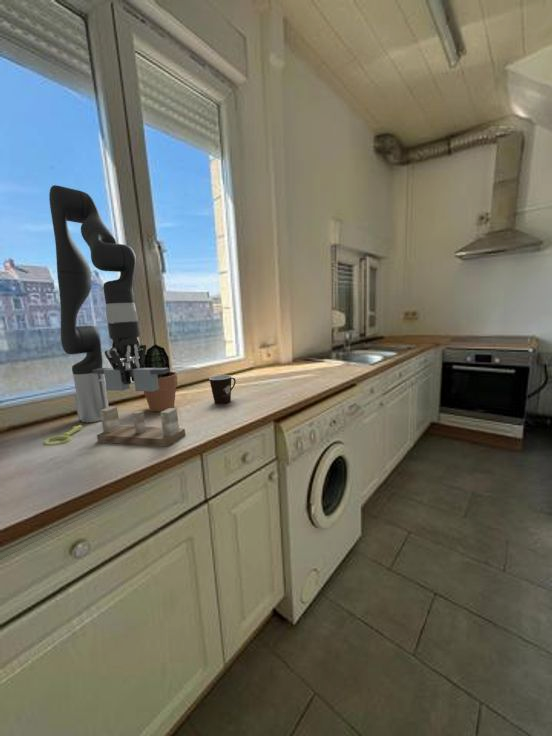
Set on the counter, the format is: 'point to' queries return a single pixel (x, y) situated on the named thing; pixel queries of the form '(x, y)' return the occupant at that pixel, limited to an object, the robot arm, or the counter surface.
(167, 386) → the potted plant
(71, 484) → the counter surface
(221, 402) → the coffee mug
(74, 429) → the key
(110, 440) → the display stand
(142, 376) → the square weight dumbbell
